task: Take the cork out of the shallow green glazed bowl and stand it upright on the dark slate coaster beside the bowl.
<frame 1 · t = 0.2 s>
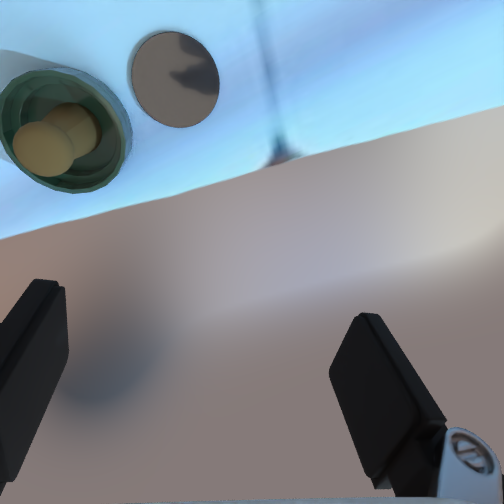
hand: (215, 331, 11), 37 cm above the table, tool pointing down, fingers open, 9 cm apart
coaster: (176, 82, 40), on the table
bowl: (76, 128, 41), on the table
cork: (76, 128, 41), resting on bowl
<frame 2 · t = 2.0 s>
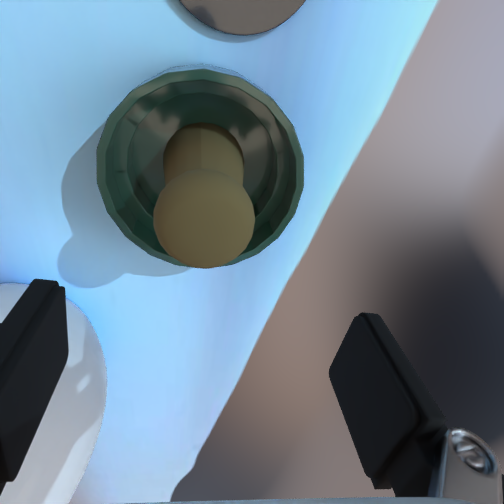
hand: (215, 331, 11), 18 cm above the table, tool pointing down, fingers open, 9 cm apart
bowl: (204, 163, 26), on the table
cork: (204, 163, 26), resting on bowl
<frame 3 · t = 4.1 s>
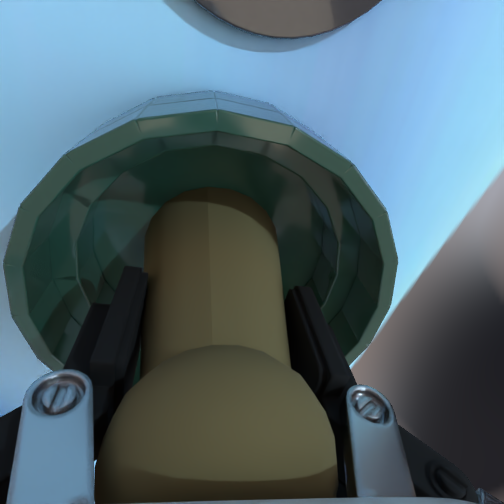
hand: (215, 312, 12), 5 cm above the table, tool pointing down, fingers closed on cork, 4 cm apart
bowl: (212, 246, 16), on the table
cork: (212, 247, 16), resting on bowl, touching gripper
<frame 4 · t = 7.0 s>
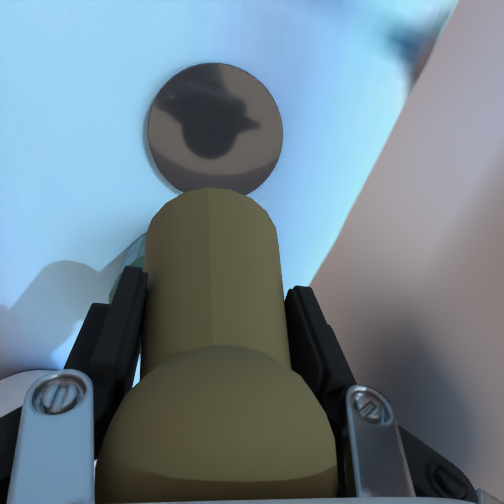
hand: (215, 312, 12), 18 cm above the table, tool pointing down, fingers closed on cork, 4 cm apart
pitcher: (18, 394, 38), on the table
coaster: (216, 137, 26), on the table
bowl: (193, 281, 32), on the table
cork: (213, 248, 16), point 13 cm above the table, touching gripper
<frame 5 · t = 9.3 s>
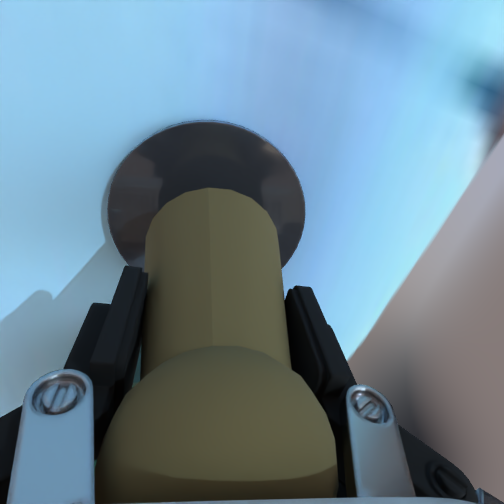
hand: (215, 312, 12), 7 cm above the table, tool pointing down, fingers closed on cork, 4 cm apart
coaster: (210, 219, 18), on the table
cork: (213, 248, 16), point 3 cm above the table, touching gripper
when the fingers open (5 cm above the table, at t = 10.4 s): cork stays where it is, resting on coaster.
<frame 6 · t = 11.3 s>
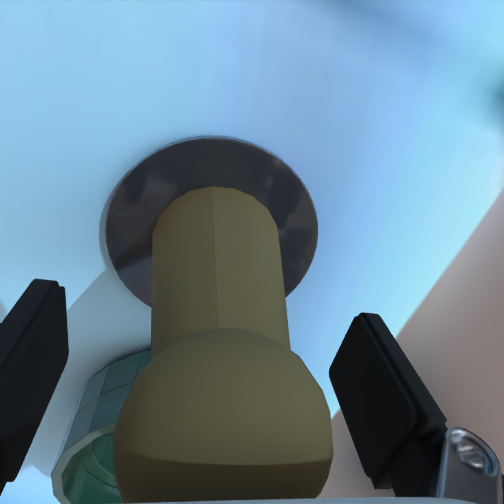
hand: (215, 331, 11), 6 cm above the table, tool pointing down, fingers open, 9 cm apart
coaster: (215, 240, 17), on the table
bowl: (182, 411, 23), on the table
cork: (216, 244, 16), resting on coaster
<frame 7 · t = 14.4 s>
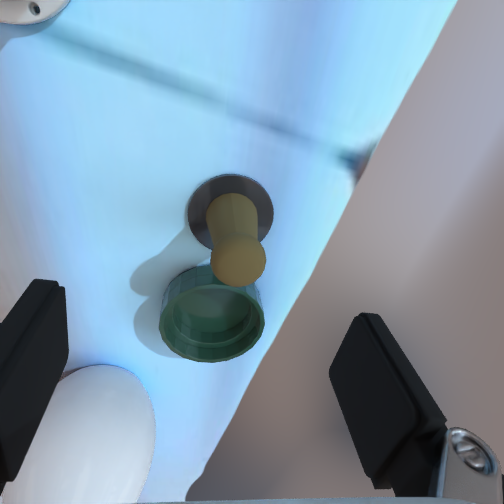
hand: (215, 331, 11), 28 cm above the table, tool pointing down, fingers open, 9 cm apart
pitcher: (82, 382, 52), on the table
coaster: (231, 215, 40), on the table
bowl: (212, 303, 47), on the table
cork: (231, 216, 40), resting on coaster
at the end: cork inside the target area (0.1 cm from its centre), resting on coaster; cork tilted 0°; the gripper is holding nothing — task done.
